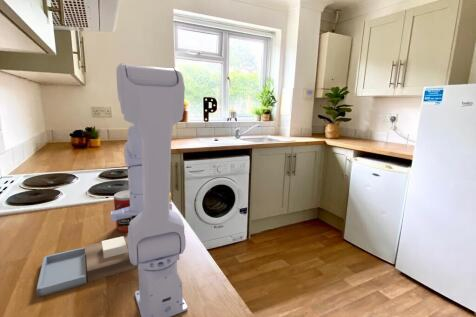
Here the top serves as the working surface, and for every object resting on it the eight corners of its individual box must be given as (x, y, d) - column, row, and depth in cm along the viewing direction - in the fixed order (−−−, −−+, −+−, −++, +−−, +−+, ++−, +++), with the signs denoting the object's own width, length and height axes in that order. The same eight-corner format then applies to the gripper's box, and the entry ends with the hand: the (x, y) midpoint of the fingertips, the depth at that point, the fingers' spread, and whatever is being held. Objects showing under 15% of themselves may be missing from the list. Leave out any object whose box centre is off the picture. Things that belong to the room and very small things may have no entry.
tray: (86, 283, 55) (85, 276, 55) (37, 297, 51) (36, 289, 51) (85, 253, 66) (84, 247, 66) (45, 263, 62) (44, 256, 62)
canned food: (115, 234, 76) (112, 199, 74) (117, 223, 83) (114, 191, 81) (143, 230, 79) (141, 196, 77) (142, 219, 86) (140, 188, 84)
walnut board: (136, 267, 61) (136, 258, 60) (88, 281, 56) (87, 271, 55) (128, 244, 71) (127, 236, 71) (86, 254, 66) (85, 245, 65)
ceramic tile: (126, 252, 63) (126, 245, 62) (103, 258, 60) (103, 250, 60) (123, 243, 67) (123, 236, 66) (102, 248, 64) (101, 241, 64)
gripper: (165, 182, 71) (167, 228, 74) (107, 190, 64) (112, 240, 67) (173, 190, 65) (175, 238, 68) (110, 199, 58) (115, 254, 61)
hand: (144, 240), depth 67 cm, fingers closed
